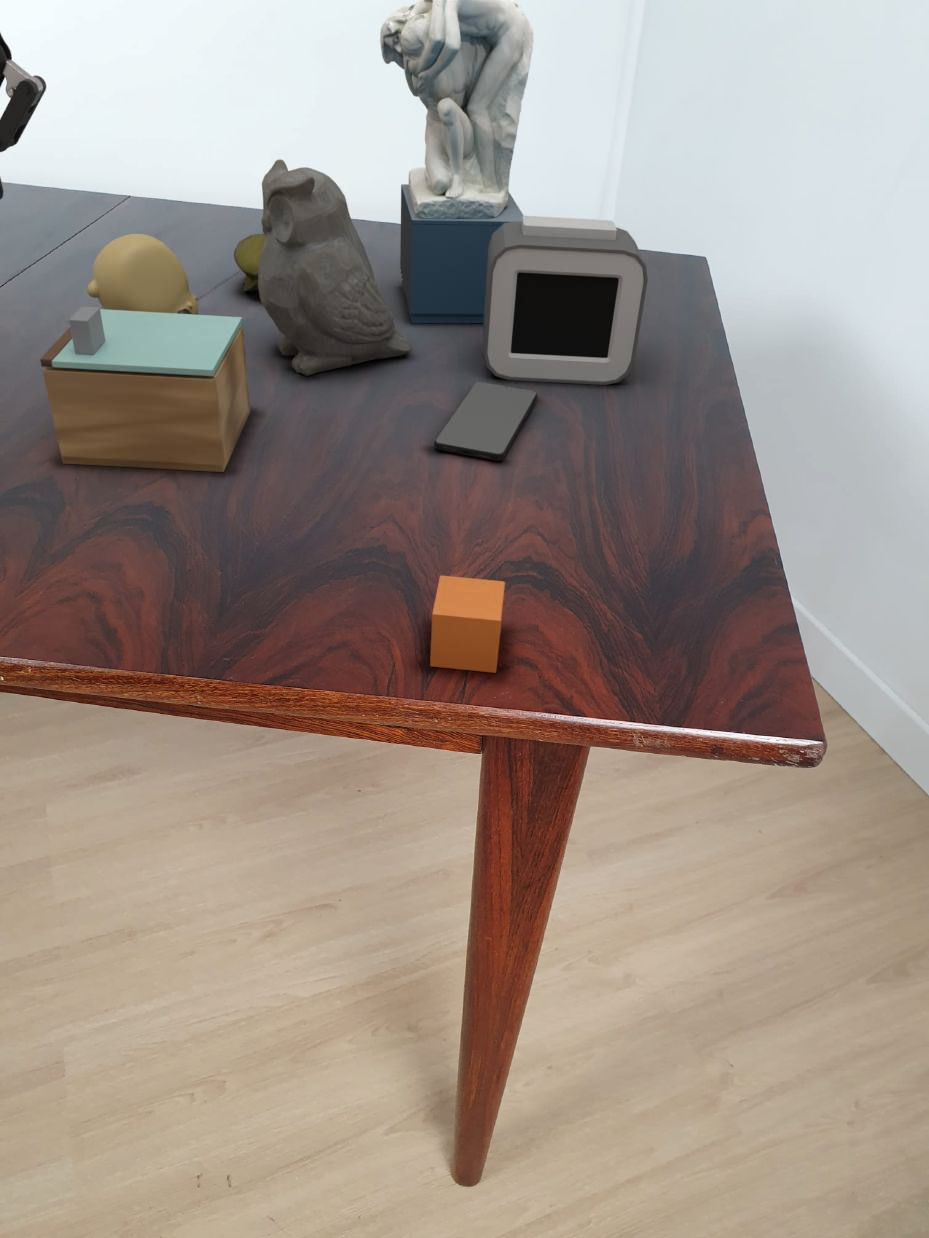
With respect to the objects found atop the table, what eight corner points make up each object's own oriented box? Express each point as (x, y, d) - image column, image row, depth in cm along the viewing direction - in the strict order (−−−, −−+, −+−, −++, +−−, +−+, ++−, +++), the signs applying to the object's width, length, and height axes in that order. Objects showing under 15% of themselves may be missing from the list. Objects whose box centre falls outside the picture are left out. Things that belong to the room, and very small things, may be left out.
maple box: (223, 472, 88) (213, 380, 83) (62, 463, 88) (42, 370, 82) (250, 412, 98) (242, 326, 92) (105, 404, 97) (89, 317, 92)
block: (430, 666, 68) (432, 613, 65) (437, 626, 71) (440, 574, 69) (496, 673, 68) (501, 620, 65) (500, 632, 71) (505, 581, 68)
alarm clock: (482, 378, 107) (492, 231, 98) (481, 340, 116) (490, 202, 107) (630, 386, 108) (654, 240, 98) (618, 347, 117) (638, 210, 107)
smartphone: (432, 442, 93) (476, 380, 104) (432, 451, 93) (475, 388, 105) (502, 455, 91) (539, 391, 103) (502, 464, 92) (538, 399, 103)
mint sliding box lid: (213, 376, 82) (208, 335, 80) (41, 367, 82) (32, 325, 80) (242, 323, 92) (239, 285, 90) (89, 314, 92) (82, 276, 90)
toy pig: (151, 375, 112) (215, 315, 109) (62, 297, 105) (128, 231, 102) (161, 339, 120) (222, 282, 116) (79, 265, 113) (141, 202, 109)
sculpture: (385, 324, 119) (385, -19, 97) (377, 280, 131) (376, -32, 110) (522, 324, 121) (552, -11, 100) (502, 281, 134) (524, -25, 112)
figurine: (254, 337, 113) (239, 150, 101) (389, 327, 118) (389, 147, 106) (276, 387, 103) (262, 184, 91) (423, 373, 107) (428, 179, 95)
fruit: (207, 283, 127) (201, 230, 123) (284, 266, 134) (281, 216, 130) (255, 308, 121) (251, 254, 117) (334, 290, 127) (333, 238, 123)
